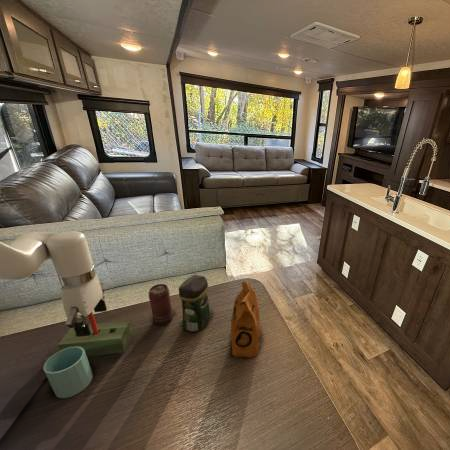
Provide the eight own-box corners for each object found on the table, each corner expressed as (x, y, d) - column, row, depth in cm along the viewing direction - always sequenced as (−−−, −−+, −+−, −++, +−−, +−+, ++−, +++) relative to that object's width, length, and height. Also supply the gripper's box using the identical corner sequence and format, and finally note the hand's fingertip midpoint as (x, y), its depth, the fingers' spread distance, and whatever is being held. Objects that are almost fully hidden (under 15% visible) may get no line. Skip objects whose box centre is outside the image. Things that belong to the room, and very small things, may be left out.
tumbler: (47, 400, 63) (35, 375, 59) (66, 372, 70) (56, 348, 66) (83, 395, 65) (73, 370, 61) (98, 368, 72) (90, 344, 68)
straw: (97, 348, 77) (85, 313, 72) (99, 344, 78) (88, 310, 73) (101, 347, 78) (90, 313, 72) (103, 344, 79) (92, 310, 73)
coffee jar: (194, 311, 95) (190, 270, 88) (213, 315, 94) (211, 274, 87) (179, 330, 86) (173, 287, 79) (200, 334, 85) (195, 291, 78)
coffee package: (227, 360, 78) (225, 305, 69) (233, 329, 89) (232, 278, 80) (259, 359, 79) (261, 305, 70) (261, 329, 90) (263, 279, 81)
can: (149, 321, 89) (143, 290, 83) (165, 311, 94) (160, 281, 88) (160, 329, 86) (155, 297, 81) (176, 317, 91) (172, 287, 86)
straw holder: (124, 352, 77) (120, 338, 75) (63, 359, 73) (57, 344, 71) (132, 334, 83) (129, 320, 81) (77, 340, 79) (71, 326, 77)
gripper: (79, 259, 74) (93, 304, 81) (38, 297, 59) (59, 348, 66) (108, 258, 76) (119, 302, 83) (75, 294, 61) (92, 344, 68)
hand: (93, 322), depth 74 cm, fingers open, 9 cm apart
